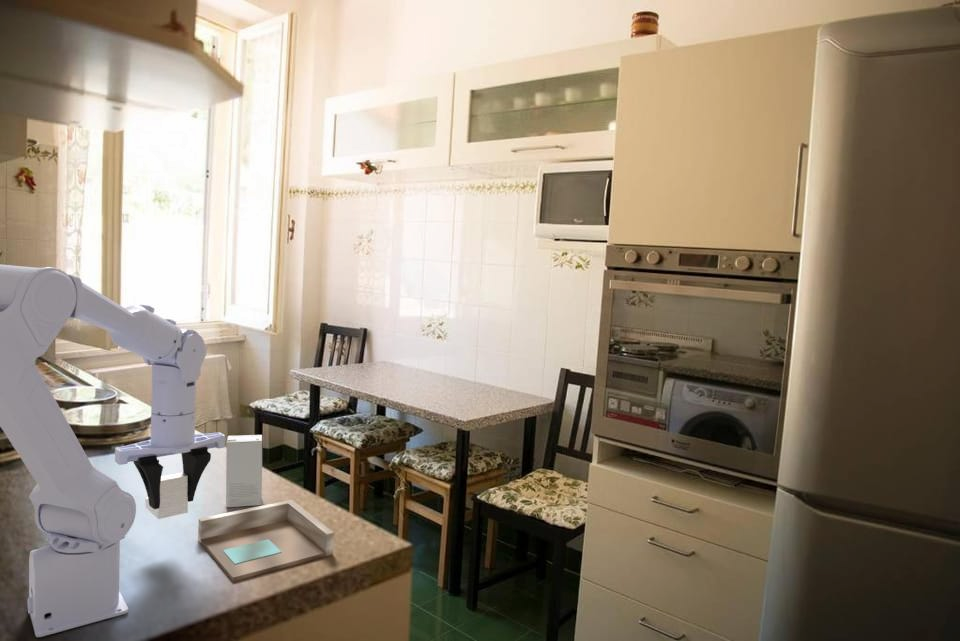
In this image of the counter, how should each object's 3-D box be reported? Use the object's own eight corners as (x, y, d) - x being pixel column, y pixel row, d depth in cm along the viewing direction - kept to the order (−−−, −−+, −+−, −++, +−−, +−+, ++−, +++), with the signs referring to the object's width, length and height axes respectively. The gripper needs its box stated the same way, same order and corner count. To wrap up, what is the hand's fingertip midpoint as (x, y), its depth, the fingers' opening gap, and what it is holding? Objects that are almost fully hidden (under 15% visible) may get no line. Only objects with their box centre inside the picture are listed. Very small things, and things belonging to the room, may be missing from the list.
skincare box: (261, 497, 118) (263, 433, 117) (261, 506, 114) (264, 440, 113) (225, 499, 116) (227, 434, 115) (224, 509, 112) (226, 441, 111)
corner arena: (232, 581, 88) (233, 557, 88) (198, 540, 100) (198, 518, 99) (332, 554, 98) (334, 532, 98) (291, 519, 110) (291, 499, 109)
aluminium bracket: (158, 519, 91) (158, 481, 91) (145, 507, 95) (145, 471, 95) (187, 512, 94) (187, 475, 93) (173, 501, 98) (173, 466, 98)
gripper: (127, 424, 84) (125, 524, 85) (235, 410, 94) (232, 500, 95) (110, 412, 89) (109, 507, 90) (214, 401, 99) (212, 486, 100)
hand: (171, 503), depth 93 cm, fingers closed on aluminium bracket, 4 cm apart
